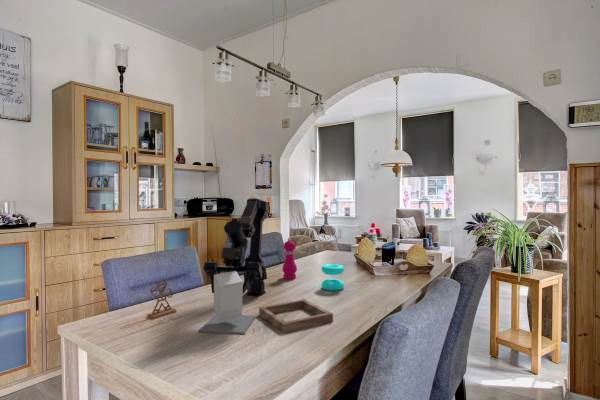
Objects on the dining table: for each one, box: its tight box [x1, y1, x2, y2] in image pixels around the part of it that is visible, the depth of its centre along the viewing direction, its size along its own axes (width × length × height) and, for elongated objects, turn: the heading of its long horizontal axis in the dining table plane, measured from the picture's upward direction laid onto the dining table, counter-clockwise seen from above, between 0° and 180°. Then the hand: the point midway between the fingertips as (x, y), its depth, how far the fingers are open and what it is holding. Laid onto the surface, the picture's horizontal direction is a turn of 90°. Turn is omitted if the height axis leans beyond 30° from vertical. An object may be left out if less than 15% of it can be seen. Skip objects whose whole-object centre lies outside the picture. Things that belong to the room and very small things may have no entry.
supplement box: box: [213, 271, 244, 322], centre depth 107 cm, size 7×7×13 cm
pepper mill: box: [281, 237, 298, 280], centre depth 169 cm, size 7×7×20 cm
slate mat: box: [198, 313, 257, 335], centre depth 108 cm, size 14×14×1 cm
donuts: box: [321, 263, 345, 291], centre depth 151 cm, size 10×10×10 cm
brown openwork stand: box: [146, 279, 177, 320], centre depth 118 cm, size 9×4×12 cm, turn 143°
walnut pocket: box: [258, 298, 334, 334], centre depth 114 cm, size 18×18×2 cm
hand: (227, 293), depth 107 cm, fingers closed on supplement box, 9 cm apart
